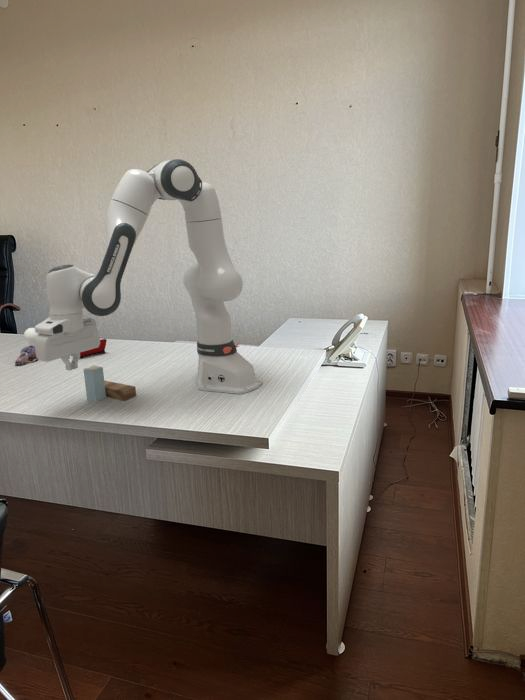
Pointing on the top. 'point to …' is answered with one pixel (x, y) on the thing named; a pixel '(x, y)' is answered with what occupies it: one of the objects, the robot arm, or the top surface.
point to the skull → (27, 356)
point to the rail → (119, 390)
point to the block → (94, 383)
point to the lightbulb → (30, 336)
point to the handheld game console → (95, 350)
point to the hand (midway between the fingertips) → (72, 369)
